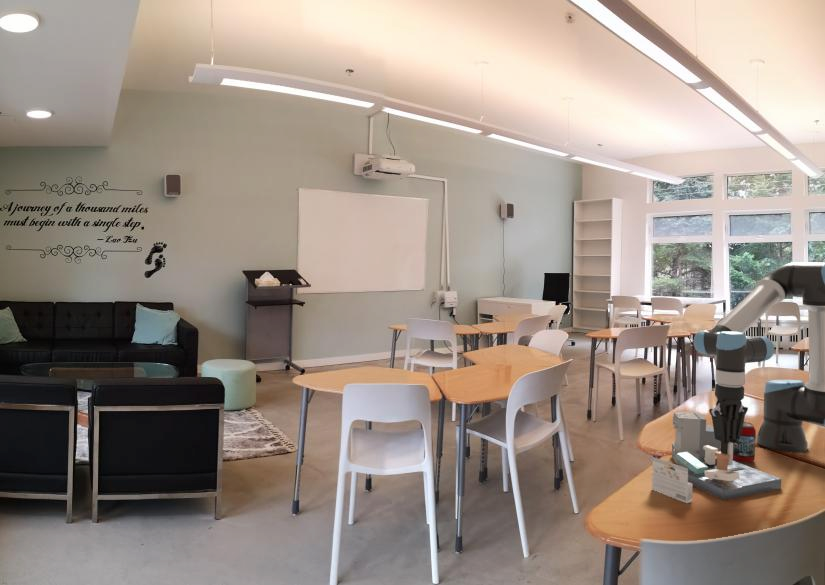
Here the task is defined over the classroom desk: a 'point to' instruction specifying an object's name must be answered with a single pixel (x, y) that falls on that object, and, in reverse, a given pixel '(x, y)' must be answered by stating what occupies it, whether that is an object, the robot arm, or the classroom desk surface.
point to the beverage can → (745, 444)
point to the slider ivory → (710, 454)
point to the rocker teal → (691, 462)
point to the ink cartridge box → (671, 481)
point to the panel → (734, 482)
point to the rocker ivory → (722, 475)
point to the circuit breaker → (692, 435)
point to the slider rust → (722, 460)
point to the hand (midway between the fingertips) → (726, 463)
